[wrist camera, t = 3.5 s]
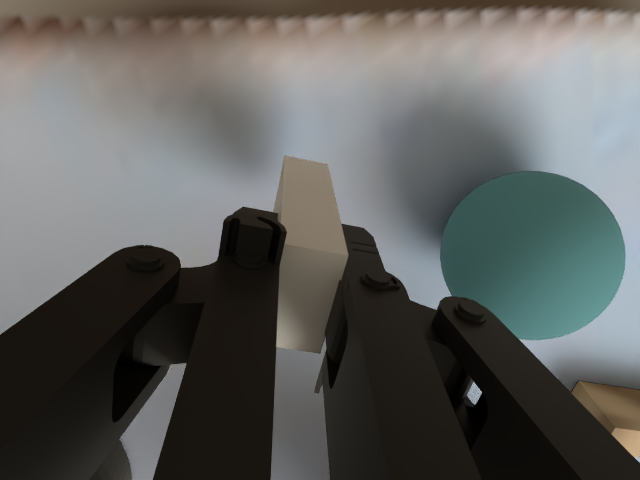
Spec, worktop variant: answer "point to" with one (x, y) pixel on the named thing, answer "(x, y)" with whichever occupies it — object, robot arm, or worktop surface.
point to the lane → (614, 411)
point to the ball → (534, 253)
